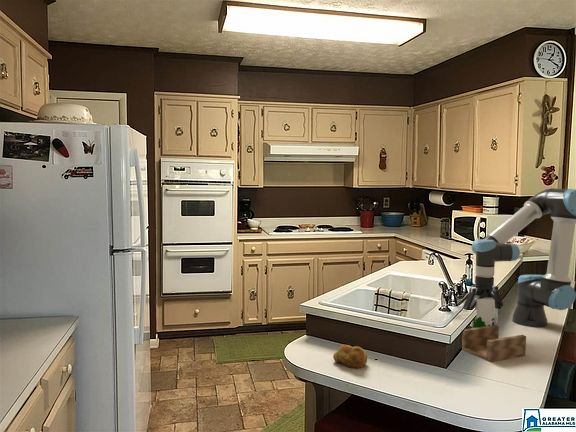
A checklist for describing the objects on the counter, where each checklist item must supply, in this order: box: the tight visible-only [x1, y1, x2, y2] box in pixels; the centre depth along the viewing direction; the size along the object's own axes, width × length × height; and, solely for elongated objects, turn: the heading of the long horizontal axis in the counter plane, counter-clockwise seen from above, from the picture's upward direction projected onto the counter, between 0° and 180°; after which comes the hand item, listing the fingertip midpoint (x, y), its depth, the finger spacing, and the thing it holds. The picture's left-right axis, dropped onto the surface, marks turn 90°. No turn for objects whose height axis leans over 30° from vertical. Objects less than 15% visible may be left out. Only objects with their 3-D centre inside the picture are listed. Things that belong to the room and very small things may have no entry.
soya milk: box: [472, 293, 495, 328], centre depth 214 cm, size 9×9×20 cm
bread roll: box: [332, 344, 368, 369], centre depth 184 cm, size 13×10×8 cm
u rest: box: [461, 324, 527, 363], centre depth 198 cm, size 18×16×8 cm
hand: (482, 324), depth 215 cm, fingers open, 13 cm apart
